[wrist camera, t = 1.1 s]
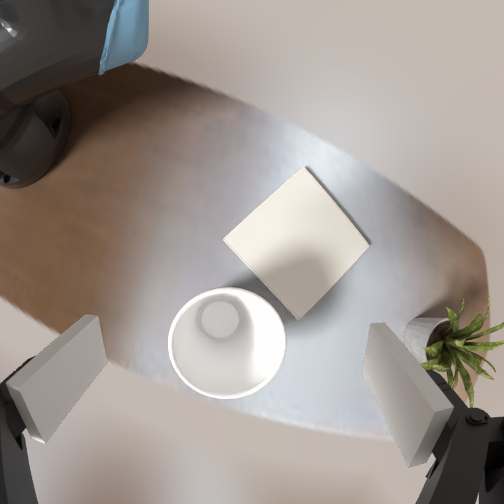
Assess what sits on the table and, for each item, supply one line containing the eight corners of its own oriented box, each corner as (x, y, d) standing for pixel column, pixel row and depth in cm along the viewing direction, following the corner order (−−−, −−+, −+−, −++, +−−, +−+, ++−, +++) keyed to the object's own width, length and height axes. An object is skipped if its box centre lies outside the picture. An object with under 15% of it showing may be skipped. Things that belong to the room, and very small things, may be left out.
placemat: (222, 239, 35) (223, 239, 34) (301, 168, 37) (303, 166, 36) (296, 318, 37) (298, 320, 36) (365, 245, 38) (369, 245, 37)
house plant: (421, 258, 40) (509, 261, 24) (460, 314, 41) (536, 331, 25) (364, 337, 38) (445, 377, 22) (412, 385, 40) (483, 426, 24)
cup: (209, 259, 35) (212, 262, 24) (278, 307, 36) (309, 329, 26) (161, 328, 34) (145, 359, 23) (230, 373, 35) (243, 417, 25)
